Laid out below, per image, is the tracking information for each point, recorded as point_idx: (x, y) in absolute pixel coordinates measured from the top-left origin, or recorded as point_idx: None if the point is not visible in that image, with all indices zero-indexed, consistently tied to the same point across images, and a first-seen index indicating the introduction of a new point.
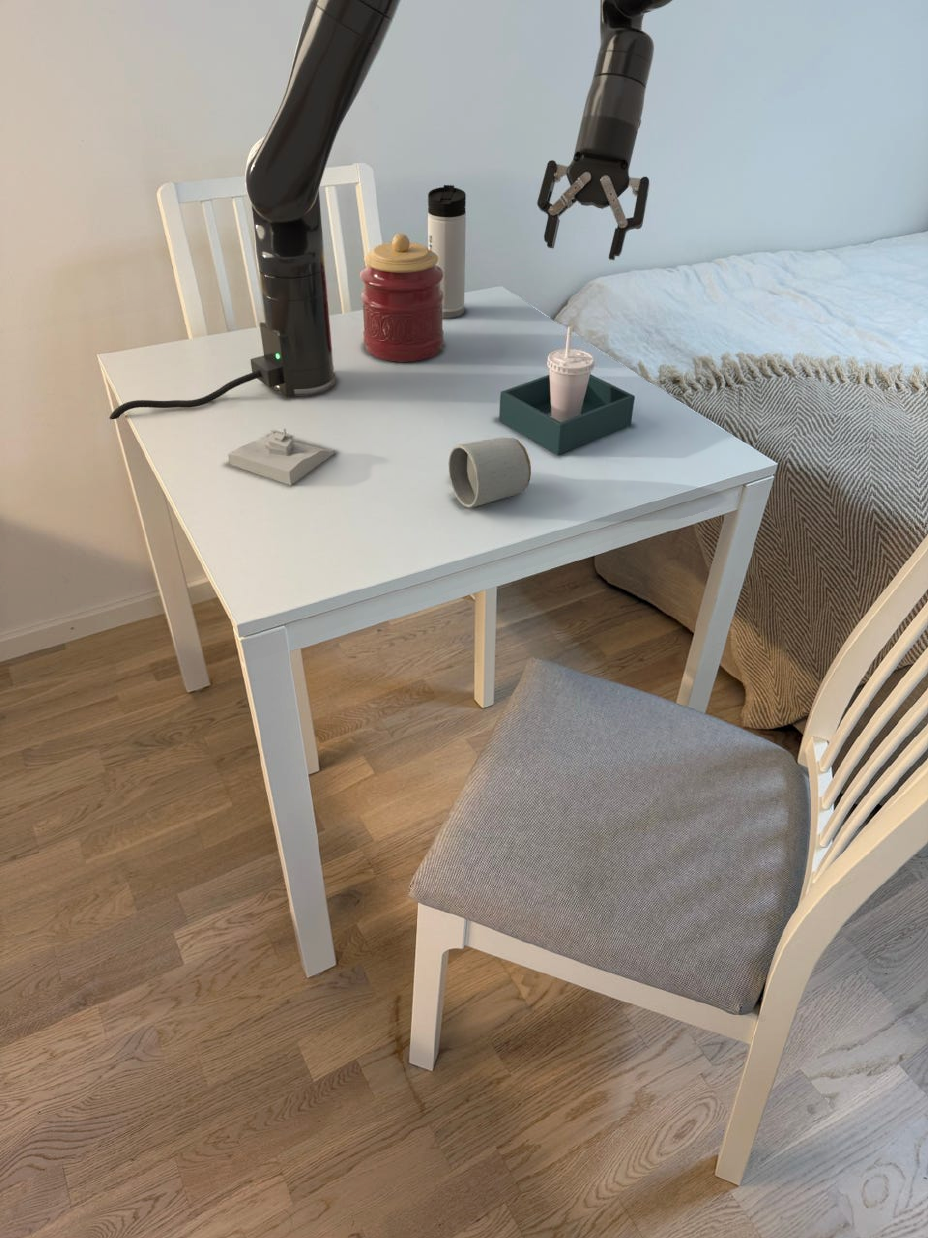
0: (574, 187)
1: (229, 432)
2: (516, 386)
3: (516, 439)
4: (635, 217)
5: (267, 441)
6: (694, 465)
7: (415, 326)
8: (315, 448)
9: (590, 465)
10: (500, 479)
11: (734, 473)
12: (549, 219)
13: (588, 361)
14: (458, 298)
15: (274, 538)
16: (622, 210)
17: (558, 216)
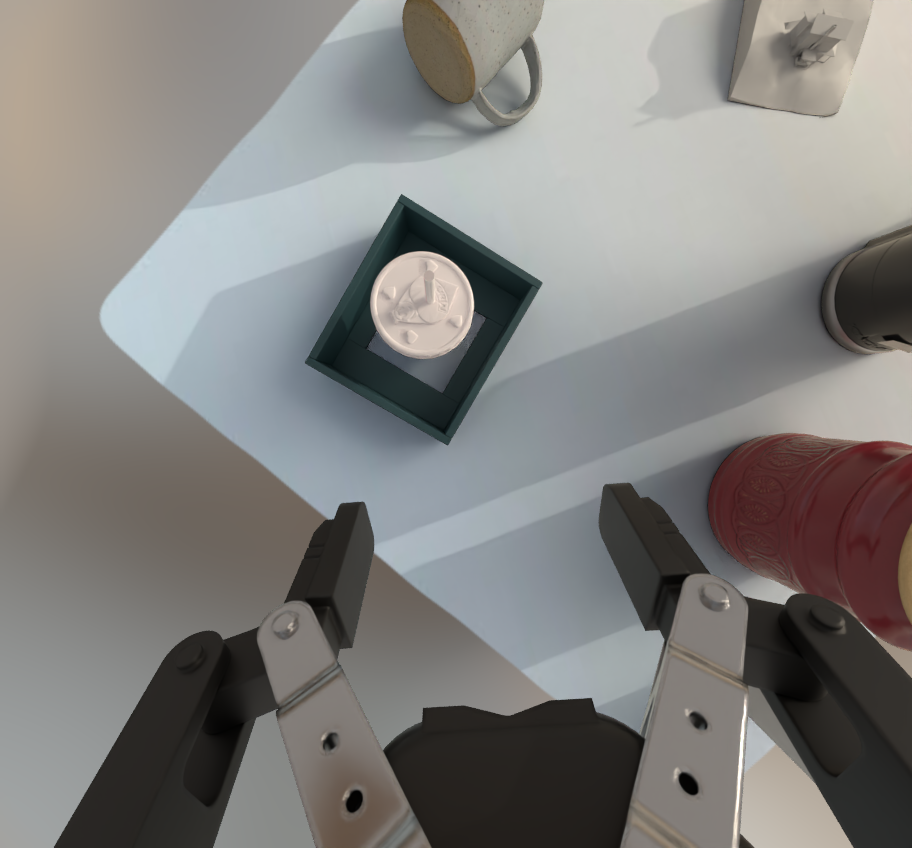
0: (699, 781)
1: (900, 103)
2: (522, 315)
3: (441, 17)
4: (198, 674)
5: (837, 65)
6: (194, 275)
7: (788, 461)
8: (759, 83)
9: (349, 212)
10: None
11: (128, 273)
12: (695, 569)
13: (382, 304)
14: (756, 689)
15: None
16: (277, 697)
17: (663, 624)
